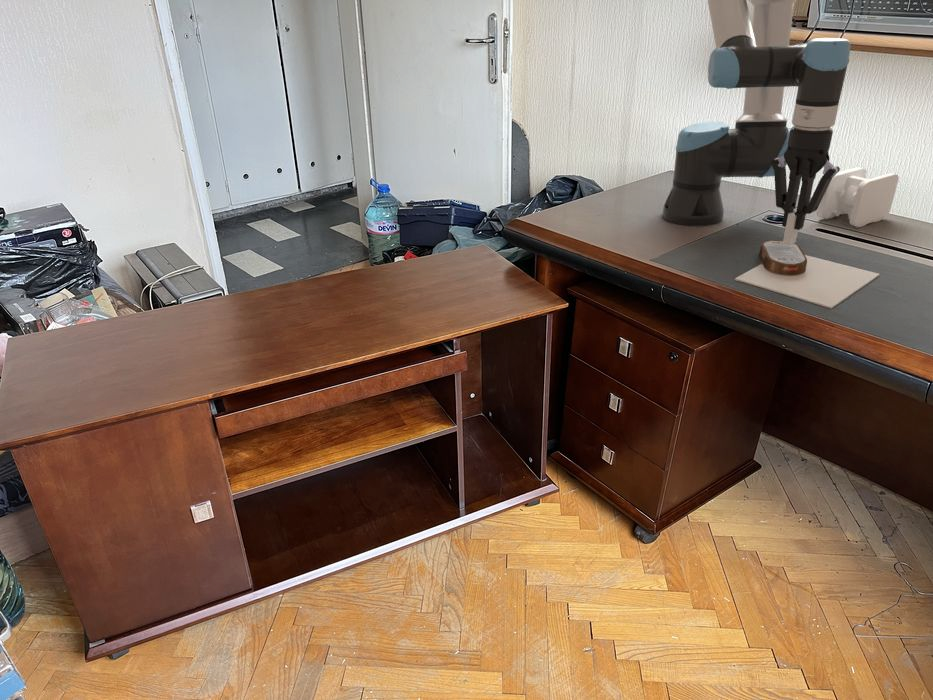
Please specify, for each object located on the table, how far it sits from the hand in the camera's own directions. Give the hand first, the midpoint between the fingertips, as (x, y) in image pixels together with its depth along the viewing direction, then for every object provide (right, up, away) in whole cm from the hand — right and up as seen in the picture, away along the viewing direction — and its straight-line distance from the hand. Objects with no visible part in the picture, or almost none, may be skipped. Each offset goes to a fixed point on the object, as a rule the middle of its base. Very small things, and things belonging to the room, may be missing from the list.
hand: (789, 242), depth 143 cm
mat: (+4, -7, 0) cm, 8 cm away
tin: (-3, -2, +7) cm, 7 cm away
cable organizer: (+29, +10, +29) cm, 43 cm away
